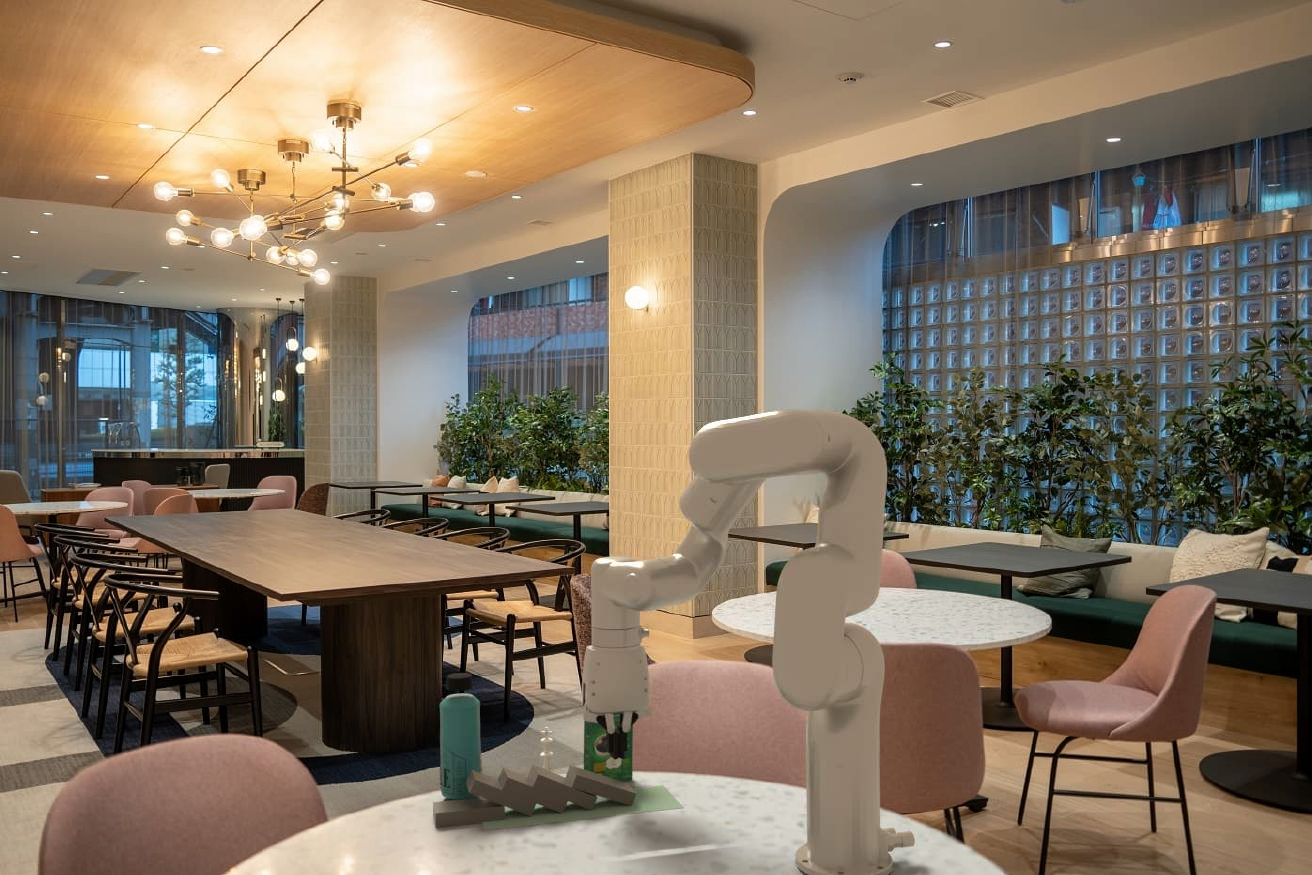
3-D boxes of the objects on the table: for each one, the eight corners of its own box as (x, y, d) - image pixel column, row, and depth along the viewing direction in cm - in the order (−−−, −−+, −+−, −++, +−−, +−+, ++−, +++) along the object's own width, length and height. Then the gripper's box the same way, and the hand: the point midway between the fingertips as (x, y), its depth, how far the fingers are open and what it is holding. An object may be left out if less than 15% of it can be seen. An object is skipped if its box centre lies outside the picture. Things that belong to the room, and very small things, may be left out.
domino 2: (531, 792, 159) (471, 769, 156) (536, 803, 154) (475, 779, 151) (525, 805, 158) (465, 781, 156) (530, 816, 153) (469, 792, 151)
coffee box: (626, 778, 173) (625, 699, 173) (634, 783, 170) (633, 703, 170) (582, 786, 169) (582, 706, 169) (590, 791, 166) (589, 709, 166)
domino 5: (628, 783, 163) (570, 764, 160) (636, 793, 158) (576, 774, 155) (623, 795, 163) (565, 777, 160) (631, 806, 158) (571, 787, 155)
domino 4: (590, 787, 161) (532, 764, 159) (597, 797, 156) (538, 774, 154) (585, 799, 161) (527, 776, 158) (592, 810, 156) (532, 786, 154)
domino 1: (500, 795, 157) (433, 802, 154) (504, 806, 152) (435, 813, 150) (500, 808, 157) (433, 815, 154) (504, 819, 152) (435, 827, 150)
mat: (663, 788, 167) (663, 785, 167) (683, 811, 157) (683, 807, 157) (476, 808, 159) (476, 804, 159) (484, 833, 149) (484, 829, 149)
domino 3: (561, 790, 160) (503, 767, 157) (568, 800, 155) (507, 777, 153) (556, 802, 160) (497, 779, 157) (562, 813, 155) (502, 790, 152)
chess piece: (557, 795, 165) (556, 732, 165) (527, 793, 166) (527, 730, 166) (566, 785, 170) (565, 724, 170) (537, 783, 171) (536, 722, 171)
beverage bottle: (490, 799, 163) (489, 672, 163) (461, 812, 157) (460, 680, 158) (459, 792, 167) (459, 668, 167) (430, 804, 161) (429, 675, 161)
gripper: (655, 630, 166) (656, 745, 165) (563, 636, 161) (564, 754, 161) (669, 638, 158) (670, 759, 158) (573, 644, 154) (574, 768, 154)
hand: (617, 756), depth 160 cm, fingers closed
